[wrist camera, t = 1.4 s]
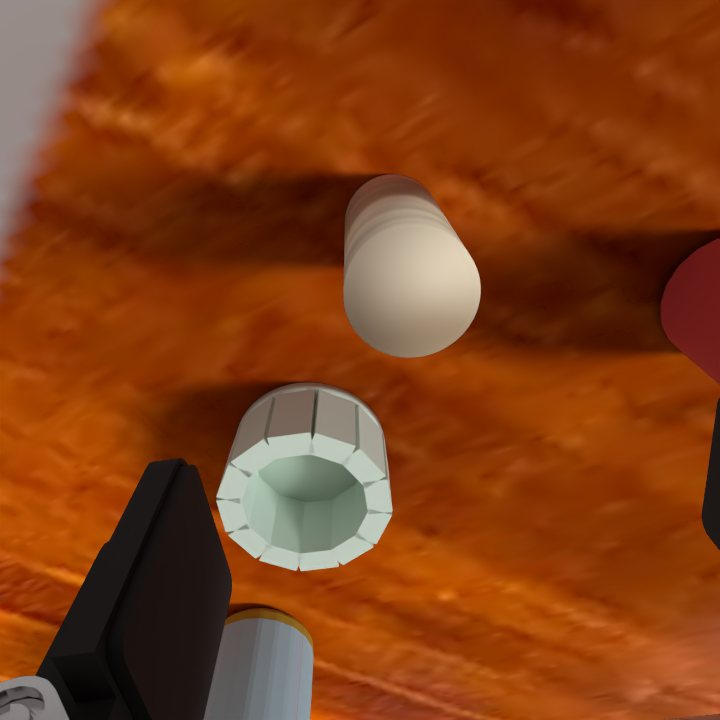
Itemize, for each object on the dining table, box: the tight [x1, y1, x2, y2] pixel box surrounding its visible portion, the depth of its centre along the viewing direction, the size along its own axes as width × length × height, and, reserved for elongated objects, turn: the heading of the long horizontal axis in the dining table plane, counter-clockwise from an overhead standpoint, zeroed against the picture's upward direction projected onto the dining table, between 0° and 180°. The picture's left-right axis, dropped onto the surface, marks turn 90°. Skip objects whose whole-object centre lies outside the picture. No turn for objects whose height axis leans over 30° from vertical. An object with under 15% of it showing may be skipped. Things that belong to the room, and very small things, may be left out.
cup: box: [216, 382, 393, 571], centre depth 31 cm, size 8×8×5 cm
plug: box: [343, 174, 481, 357], centre depth 24 cm, size 4×4×10 cm
